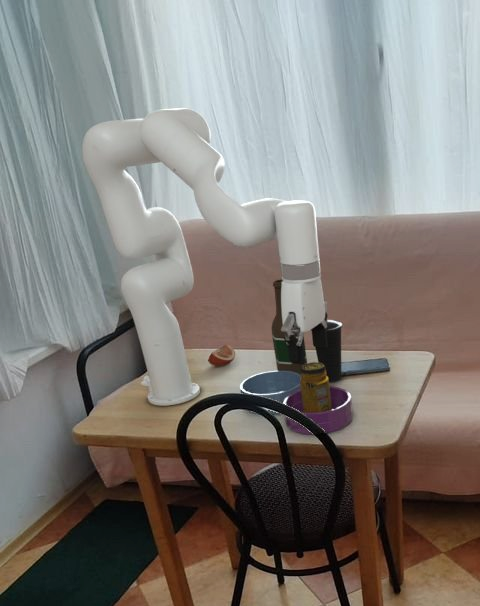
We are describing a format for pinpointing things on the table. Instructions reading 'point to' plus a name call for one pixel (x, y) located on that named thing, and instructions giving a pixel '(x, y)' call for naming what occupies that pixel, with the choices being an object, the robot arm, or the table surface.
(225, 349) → the fruit slice
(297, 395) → the plum bowl
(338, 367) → the drinking cup
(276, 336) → the beer bottle
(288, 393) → the slate bowl
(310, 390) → the condiment
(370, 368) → the table surface
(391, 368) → the table surface
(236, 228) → the robot arm
